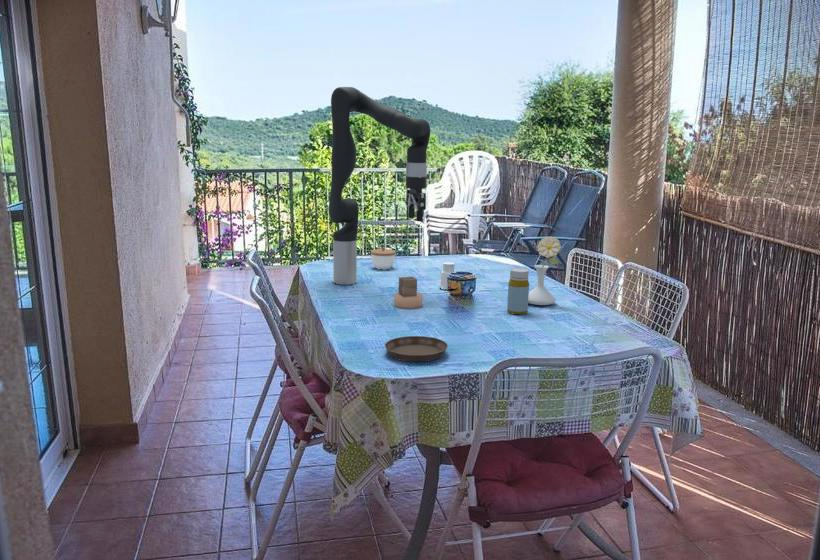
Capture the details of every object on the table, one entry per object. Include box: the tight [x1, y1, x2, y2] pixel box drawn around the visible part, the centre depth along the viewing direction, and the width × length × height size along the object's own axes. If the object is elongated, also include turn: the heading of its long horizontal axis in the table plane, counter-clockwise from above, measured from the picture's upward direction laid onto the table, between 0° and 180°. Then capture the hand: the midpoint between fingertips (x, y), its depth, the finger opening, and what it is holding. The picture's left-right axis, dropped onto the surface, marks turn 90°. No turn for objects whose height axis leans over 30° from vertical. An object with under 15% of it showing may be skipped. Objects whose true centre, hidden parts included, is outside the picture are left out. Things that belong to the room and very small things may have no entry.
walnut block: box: [398, 276, 418, 297], centre depth 259 cm, size 5×5×6 cm
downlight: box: [440, 262, 457, 290], centre depth 286 cm, size 8×7×10 cm
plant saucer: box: [384, 335, 449, 362], centre depth 208 cm, size 18×18×3 cm
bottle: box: [506, 267, 530, 315], centre depth 252 cm, size 7×7×15 cm
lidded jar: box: [370, 246, 397, 270], centre depth 320 cm, size 11×11×9 cm
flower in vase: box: [528, 235, 562, 306], centre depth 263 cm, size 13×11×25 cm
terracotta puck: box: [393, 291, 424, 310], centre depth 261 cm, size 10×10×4 cm
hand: (415, 219), depth 271 cm, fingers open, 8 cm apart
